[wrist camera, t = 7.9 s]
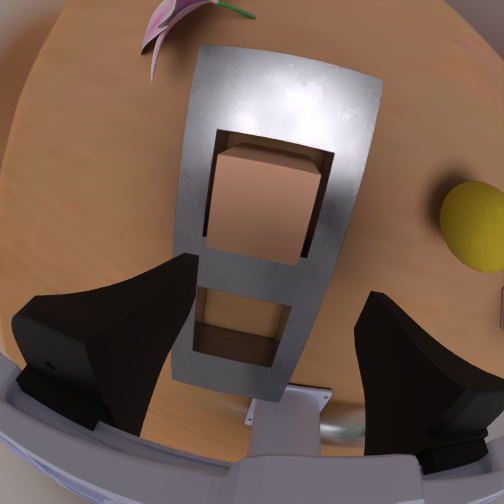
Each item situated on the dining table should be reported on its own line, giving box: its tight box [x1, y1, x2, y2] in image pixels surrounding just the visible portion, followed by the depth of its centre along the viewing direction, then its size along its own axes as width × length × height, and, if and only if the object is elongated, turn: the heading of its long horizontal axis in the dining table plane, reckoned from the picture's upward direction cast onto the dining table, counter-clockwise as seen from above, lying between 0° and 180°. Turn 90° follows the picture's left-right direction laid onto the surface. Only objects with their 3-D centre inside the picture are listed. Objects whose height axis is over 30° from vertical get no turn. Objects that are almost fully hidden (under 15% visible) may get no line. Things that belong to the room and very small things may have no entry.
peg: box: [206, 143, 321, 266], centre depth 16 cm, size 4×4×7 cm
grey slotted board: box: [171, 45, 384, 403], centre depth 19 cm, size 26×10×4 cm, turn 170°
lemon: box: [440, 181, 504, 273], centre depth 14 cm, size 6×6×8 cm
